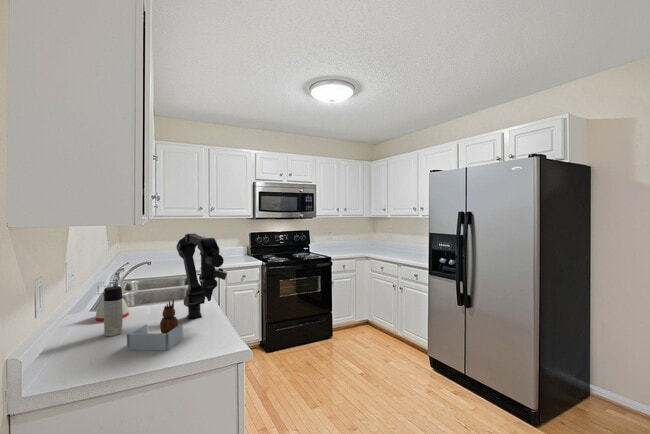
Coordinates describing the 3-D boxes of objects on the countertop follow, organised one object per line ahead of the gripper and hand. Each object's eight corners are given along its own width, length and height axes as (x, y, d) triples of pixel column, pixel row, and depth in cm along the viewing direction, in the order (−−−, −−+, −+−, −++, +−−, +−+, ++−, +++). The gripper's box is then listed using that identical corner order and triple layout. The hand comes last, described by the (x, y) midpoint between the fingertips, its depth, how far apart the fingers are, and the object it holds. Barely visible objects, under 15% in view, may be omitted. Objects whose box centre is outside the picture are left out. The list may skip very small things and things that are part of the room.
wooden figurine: (180, 332, 139) (179, 297, 139) (174, 337, 133) (173, 301, 133) (164, 332, 139) (163, 298, 139) (157, 337, 133) (157, 301, 133)
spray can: (120, 329, 143) (119, 285, 143) (124, 333, 138) (123, 287, 138) (102, 333, 138) (101, 287, 138) (106, 338, 133) (105, 290, 133)
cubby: (144, 338, 132) (144, 324, 132) (182, 338, 131) (182, 324, 131) (127, 350, 121) (126, 334, 121) (168, 350, 120) (167, 334, 120)
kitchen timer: (126, 319, 158) (126, 288, 158) (92, 323, 152) (92, 292, 152) (130, 311, 171) (129, 283, 170) (99, 315, 165) (98, 286, 165)
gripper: (228, 266, 144) (229, 301, 144) (222, 261, 160) (222, 292, 160) (202, 268, 139) (203, 304, 139) (198, 262, 155) (199, 294, 156)
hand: (208, 298), depth 149 cm, fingers open, 9 cm apart
